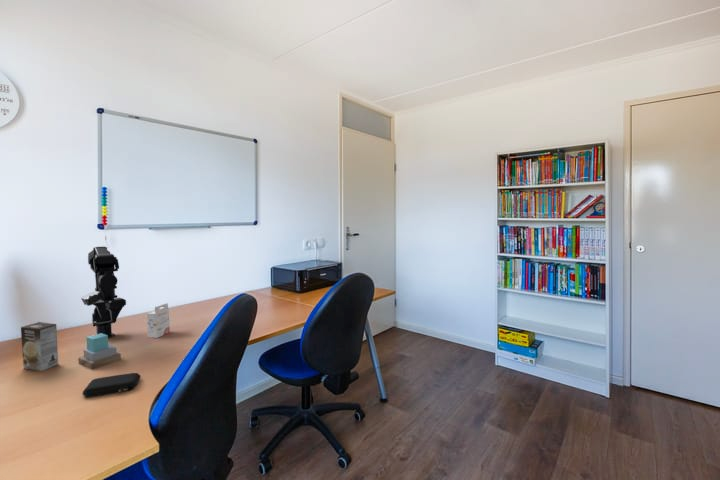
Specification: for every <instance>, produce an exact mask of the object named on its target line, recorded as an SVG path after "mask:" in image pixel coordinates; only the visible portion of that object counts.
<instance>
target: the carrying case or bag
mask: <svg viewBox="0 0 720 480" xmlns="http://www.w3.org/2000/svg"><path fill="white" fill-rule="evenodd" d="M141 376H142V375H141V374H139V373H138V372H129V373H123V374H117V375H111V376H103V377H99V378H98V377H97V378H94V379H92V380H91V381H90V382H89V383H88V384H87V386H86V387H85V388H84V390H82V395H83V396H85V397H86V398H90V397H98V396H103V395H105V396H106V395H110V394H118V393H123V392H127V391H131V390H134V389H135V388H136V387H137V385H138V383H139V381H140V379H141Z"/></svg>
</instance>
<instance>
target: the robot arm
mask: <svg viewBox="0 0 720 480" xmlns="http://www.w3.org/2000/svg"><path fill="white" fill-rule="evenodd" d="M87 254H88V255H87V263H88V265H89V267H90V268H89V269H90V270H91V271H92V272H93V273H94V277H95V278H94V279H95V288H94V291H92V292H89V293H87V294H85V295H83V296H81V297H80V299H81V301H82V302H83V305H85V306H93V307H94V308H93V313H92V315H91V323H92V327H95V328H96V334H100V333H102V334H105V335H108V338H110V337H114V336H116V334H115V333H113V330H112V324H115V323H117V318H118V317H119V314H120V313H121V312H122V309H123V308H124V307H125V306H126V305H127V300H126V299H125V298H123V297H118V295H117V294H116V289H118V286H117V284H118V278H117V276H116V275H115V272H118V271H119V269H120V263H119V259H118V258H117V256H115V254H114V253H111V252H110V251H109V250H108V247H107V246H104V245H103V246H95V247H93V249H92V250H91V251H90V252H88V253H87Z"/></svg>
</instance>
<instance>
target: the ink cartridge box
mask: <svg viewBox="0 0 720 480" xmlns="http://www.w3.org/2000/svg"><path fill="white" fill-rule="evenodd" d="M146 320H147V321H146V322H147V335H148V338H155V339H157V338H160V337H162V336H164V335H167V334H169V333H170V327H171V326H170V309H169V303H164V304H161V305H158V306H155V307H154V310H152V311H150V312H146Z"/></svg>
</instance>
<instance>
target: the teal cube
mask: <svg viewBox="0 0 720 480" xmlns="http://www.w3.org/2000/svg"><path fill="white" fill-rule="evenodd" d="M108 343H109V337H108V335H105V334H102V333H100V334H97V333H96V334H93V335H89V336H86V349H87V350H89V351H92V352H96V351H99V350H102V349H106V348H108Z"/></svg>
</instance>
